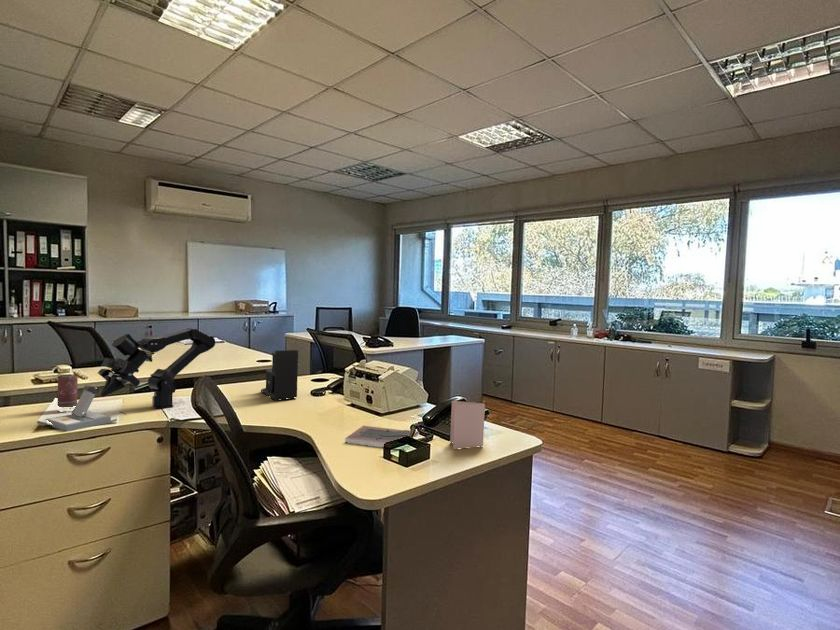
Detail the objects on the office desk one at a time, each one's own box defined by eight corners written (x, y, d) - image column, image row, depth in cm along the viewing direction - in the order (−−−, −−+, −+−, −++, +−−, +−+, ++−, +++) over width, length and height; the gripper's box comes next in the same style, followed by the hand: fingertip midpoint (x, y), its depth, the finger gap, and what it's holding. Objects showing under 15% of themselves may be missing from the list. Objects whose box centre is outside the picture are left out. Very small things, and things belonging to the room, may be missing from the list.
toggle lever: (76, 416, 164) (91, 386, 168) (85, 418, 162) (100, 388, 166) (69, 414, 162) (85, 384, 166) (78, 417, 160) (93, 386, 164)
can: (81, 409, 181) (82, 374, 181) (67, 413, 175) (68, 377, 175) (67, 408, 182) (68, 373, 182) (53, 412, 176) (53, 376, 175)
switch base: (89, 416, 172) (89, 410, 172) (110, 422, 166) (110, 416, 166) (45, 424, 160) (45, 418, 159) (66, 431, 153) (66, 424, 153)
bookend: (260, 391, 227) (261, 345, 226) (281, 390, 233) (283, 344, 232) (274, 401, 208) (275, 350, 207) (297, 399, 214) (299, 350, 213)
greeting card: (483, 446, 156) (485, 403, 156) (481, 453, 149) (483, 408, 148) (450, 442, 159) (452, 400, 158) (446, 449, 152) (448, 404, 151)
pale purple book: (418, 438, 164) (362, 431, 170) (419, 431, 164) (363, 424, 170) (406, 452, 148) (345, 444, 154) (406, 445, 148) (345, 437, 154)
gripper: (103, 347, 177) (70, 379, 168) (132, 352, 169) (99, 386, 159) (124, 365, 185) (93, 397, 175) (152, 370, 176) (122, 404, 167)
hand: (101, 395), depth 169 cm, fingers closed
